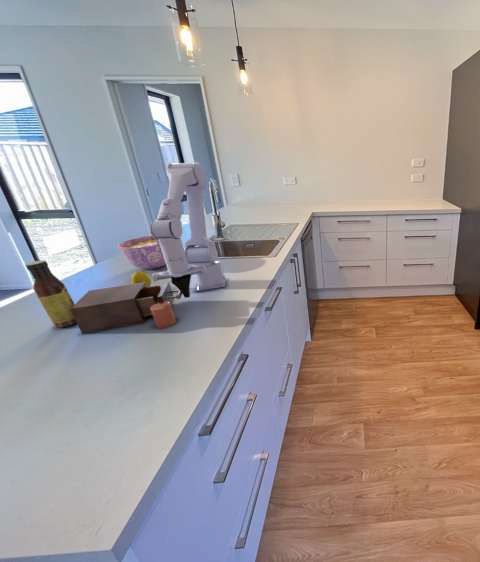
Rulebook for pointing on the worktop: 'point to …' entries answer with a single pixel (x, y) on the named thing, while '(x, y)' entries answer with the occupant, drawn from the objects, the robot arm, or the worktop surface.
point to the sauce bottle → (52, 294)
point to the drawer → (155, 297)
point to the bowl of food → (143, 252)
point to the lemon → (140, 278)
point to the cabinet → (108, 308)
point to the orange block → (163, 314)
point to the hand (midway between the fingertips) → (187, 296)
